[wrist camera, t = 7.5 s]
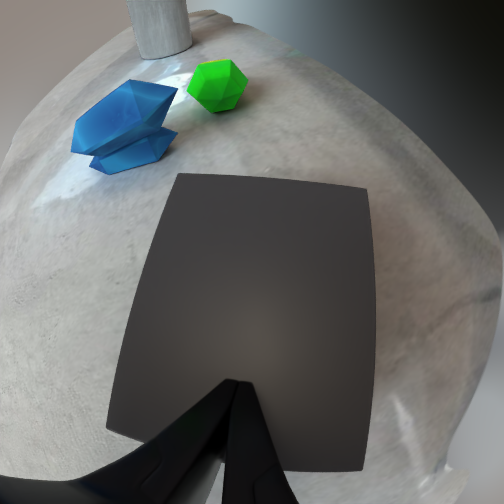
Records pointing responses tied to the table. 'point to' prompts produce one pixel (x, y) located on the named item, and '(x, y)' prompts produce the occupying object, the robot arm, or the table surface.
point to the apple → (217, 85)
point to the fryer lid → (257, 314)
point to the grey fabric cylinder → (160, 27)
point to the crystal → (126, 127)
